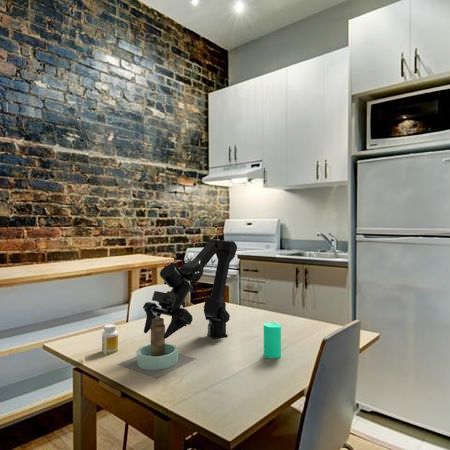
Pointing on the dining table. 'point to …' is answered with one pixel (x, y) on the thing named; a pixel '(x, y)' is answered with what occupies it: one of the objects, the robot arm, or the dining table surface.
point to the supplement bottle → (109, 339)
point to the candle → (272, 340)
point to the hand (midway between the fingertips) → (154, 335)
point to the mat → (156, 373)
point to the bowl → (157, 357)
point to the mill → (157, 337)
